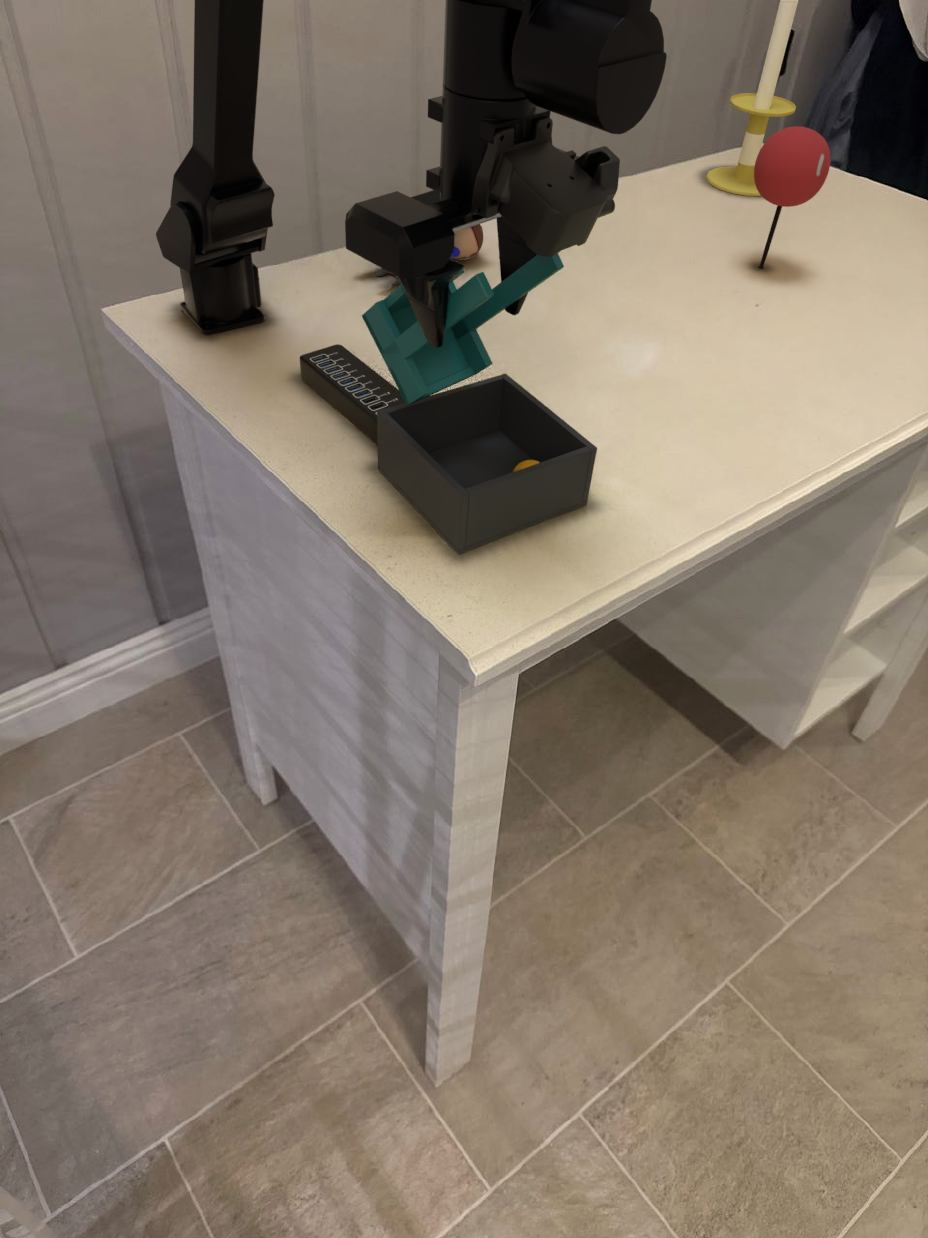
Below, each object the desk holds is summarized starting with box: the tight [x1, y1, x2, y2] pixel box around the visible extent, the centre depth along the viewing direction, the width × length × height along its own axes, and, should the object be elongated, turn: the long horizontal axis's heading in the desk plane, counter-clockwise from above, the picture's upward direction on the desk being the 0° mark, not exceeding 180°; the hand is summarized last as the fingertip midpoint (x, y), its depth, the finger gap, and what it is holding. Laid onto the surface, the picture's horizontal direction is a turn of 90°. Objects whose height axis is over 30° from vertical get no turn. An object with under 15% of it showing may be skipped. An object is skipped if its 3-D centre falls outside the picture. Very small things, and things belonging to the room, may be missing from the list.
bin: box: [377, 373, 598, 555], centre depth 72 cm, size 12×12×6 cm
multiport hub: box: [299, 344, 405, 446], centre depth 81 cm, size 4×14×2 cm, turn 38°
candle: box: [705, 0, 799, 197], centre depth 117 cm, size 10×10×27 cm
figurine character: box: [375, 189, 484, 286], centre depth 99 cm, size 7×8×15 cm
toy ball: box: [513, 460, 540, 472], centre depth 72 cm, size 3×3×3 cm
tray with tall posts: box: [361, 253, 565, 406], centre depth 66 cm, size 7×7×14 cm
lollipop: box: [754, 125, 831, 270], centre depth 101 cm, size 8×8×15 cm
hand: (474, 328), depth 66 cm, fingers closed on tray with tall posts, 7 cm apart
